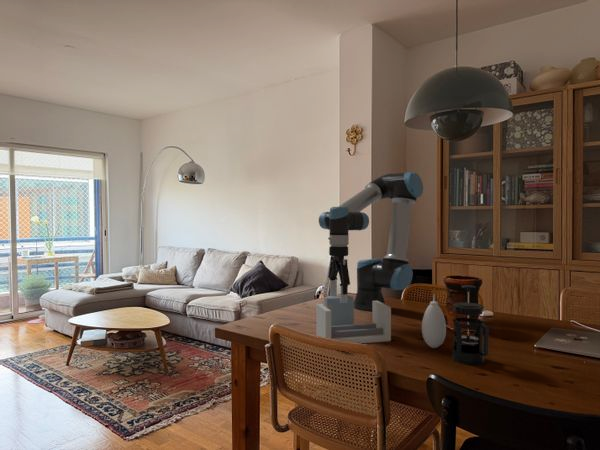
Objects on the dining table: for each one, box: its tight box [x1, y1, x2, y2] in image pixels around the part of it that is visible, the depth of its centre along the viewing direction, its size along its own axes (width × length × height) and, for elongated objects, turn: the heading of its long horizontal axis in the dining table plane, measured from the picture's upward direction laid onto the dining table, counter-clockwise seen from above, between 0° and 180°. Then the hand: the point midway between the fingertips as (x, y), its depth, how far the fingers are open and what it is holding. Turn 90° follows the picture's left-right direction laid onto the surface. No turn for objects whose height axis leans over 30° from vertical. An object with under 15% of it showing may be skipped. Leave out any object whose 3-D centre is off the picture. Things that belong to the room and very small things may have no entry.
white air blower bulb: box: [421, 295, 447, 349], centre depth 145 cm, size 8×8×18 cm
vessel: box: [443, 274, 483, 331], centre depth 170 cm, size 14×14×20 cm
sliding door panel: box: [323, 295, 355, 326], centre depth 171 cm, size 11×4×12 cm, turn 103°
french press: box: [451, 285, 490, 366], centre depth 132 cm, size 12×9×23 cm
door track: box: [315, 301, 392, 344], centre depth 156 cm, size 24×12×12 cm, turn 103°
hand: (338, 299), depth 171 cm, fingers open, 13 cm apart
